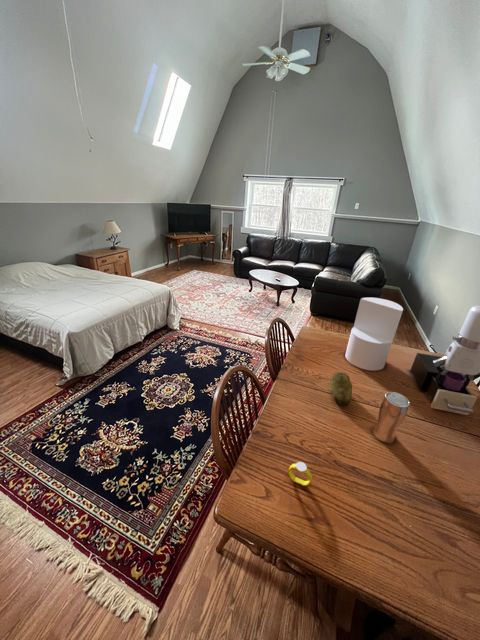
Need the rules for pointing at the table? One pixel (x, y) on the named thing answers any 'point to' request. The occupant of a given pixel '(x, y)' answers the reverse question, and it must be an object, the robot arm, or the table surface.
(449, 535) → the table surface
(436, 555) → the table surface
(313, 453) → the table surface
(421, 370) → the cabinet
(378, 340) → the cylinder
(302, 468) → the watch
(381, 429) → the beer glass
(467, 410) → the drawer
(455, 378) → the bowl
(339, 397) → the green rounded piece
